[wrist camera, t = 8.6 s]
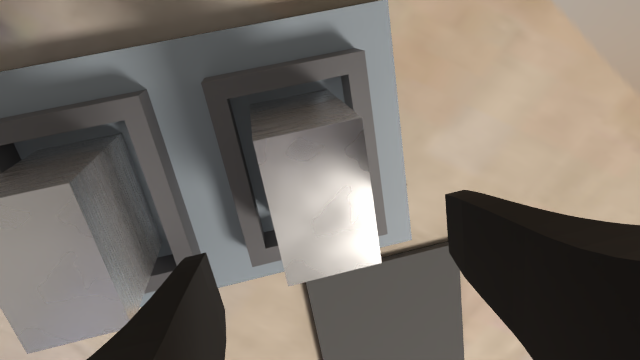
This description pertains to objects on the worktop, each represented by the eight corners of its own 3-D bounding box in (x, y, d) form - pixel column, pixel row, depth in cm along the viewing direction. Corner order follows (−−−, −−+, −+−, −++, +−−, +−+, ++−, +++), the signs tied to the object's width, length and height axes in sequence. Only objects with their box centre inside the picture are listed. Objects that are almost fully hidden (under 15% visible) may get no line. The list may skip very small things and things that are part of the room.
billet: (87, 259, 20) (27, 354, 14) (37, 149, 18) (-57, 210, 12) (162, 242, 20) (132, 327, 14) (122, 132, 18) (69, 183, 12)
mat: (330, 392, 27) (331, 397, 27) (304, 277, 23) (305, 281, 23) (461, 355, 28) (464, 359, 27) (455, 239, 24) (458, 243, 24)
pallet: (54, 315, 22) (29, 354, 19) (-66, 84, 17) (-121, 95, 14) (403, 229, 24) (423, 255, 21) (378, 0, 19) (400, -3, 16)
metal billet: (275, 214, 20) (288, 286, 15) (249, 104, 18) (253, 141, 13) (344, 198, 21) (381, 262, 15) (326, 88, 19) (362, 117, 13)
